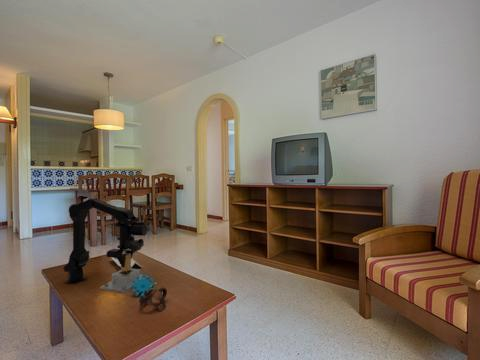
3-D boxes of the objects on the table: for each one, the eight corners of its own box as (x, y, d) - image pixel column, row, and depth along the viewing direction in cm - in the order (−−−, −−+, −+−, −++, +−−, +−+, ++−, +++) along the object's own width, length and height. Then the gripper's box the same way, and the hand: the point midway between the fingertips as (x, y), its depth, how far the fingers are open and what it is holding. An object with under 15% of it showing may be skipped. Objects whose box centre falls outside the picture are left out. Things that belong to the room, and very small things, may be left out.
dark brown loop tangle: (156, 317, 93) (145, 299, 92) (142, 321, 97) (131, 304, 97) (176, 295, 103) (166, 279, 103) (162, 300, 108) (152, 284, 107)
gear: (130, 296, 104) (132, 274, 111) (128, 301, 108) (130, 279, 115) (156, 294, 109) (157, 273, 116) (154, 299, 113) (154, 278, 119)
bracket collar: (100, 289, 115) (99, 277, 115) (127, 274, 132) (127, 264, 132) (124, 292, 111) (124, 281, 111) (149, 277, 128) (149, 266, 128)
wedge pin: (120, 270, 120) (120, 254, 120) (125, 268, 123) (125, 252, 123) (126, 271, 119) (126, 255, 119) (130, 268, 123) (130, 253, 122)
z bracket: (123, 265, 158) (130, 257, 160) (135, 277, 139) (143, 267, 141) (108, 255, 152) (116, 246, 155) (119, 266, 133) (127, 256, 136)
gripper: (125, 240, 110) (125, 274, 110) (151, 231, 128) (151, 261, 128) (105, 239, 113) (105, 272, 113) (133, 230, 131) (133, 259, 131)
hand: (125, 265), depth 121 cm, fingers closed on wedge pin, 3 cm apart
